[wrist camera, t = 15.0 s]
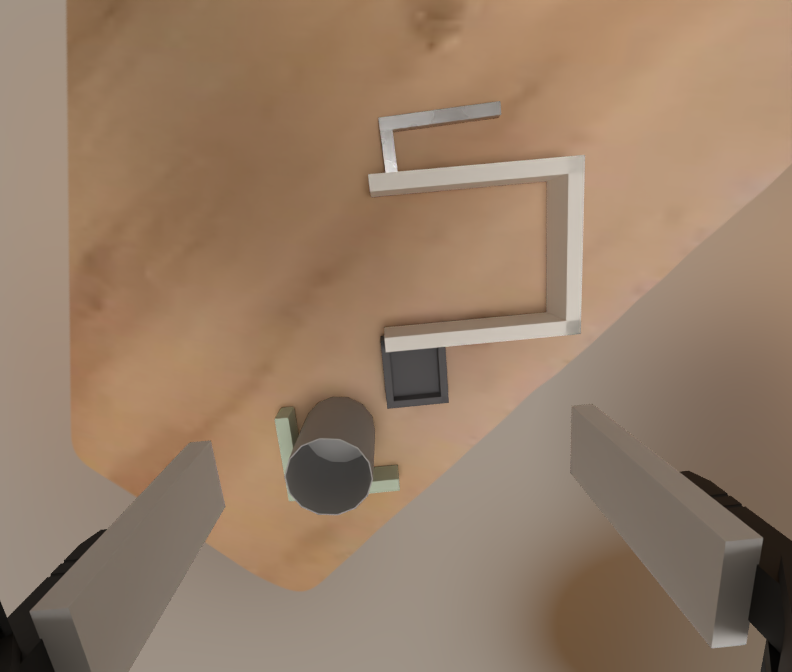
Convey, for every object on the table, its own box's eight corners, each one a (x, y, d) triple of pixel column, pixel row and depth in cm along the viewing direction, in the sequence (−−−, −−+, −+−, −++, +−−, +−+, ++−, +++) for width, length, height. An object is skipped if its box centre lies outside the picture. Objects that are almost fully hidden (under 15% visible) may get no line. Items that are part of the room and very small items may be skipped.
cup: (336, 382, 46) (323, 421, 36) (388, 425, 48) (390, 472, 38) (290, 432, 47) (267, 482, 38) (343, 472, 49) (333, 530, 39)
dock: (294, 485, 49) (289, 501, 46) (281, 407, 47) (274, 419, 44) (398, 475, 49) (399, 490, 46) (391, 397, 47) (391, 407, 44)
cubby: (385, 340, 45) (385, 352, 40) (369, 182, 41) (368, 174, 36) (559, 323, 45) (580, 333, 40) (561, 164, 41) (584, 154, 36)
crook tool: (385, 176, 41) (385, 174, 40) (378, 121, 40) (378, 117, 38) (500, 160, 41) (503, 158, 40) (496, 105, 40) (500, 101, 39)
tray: (387, 401, 47) (387, 408, 45) (380, 336, 45) (380, 340, 43) (445, 395, 47) (448, 402, 45) (441, 330, 45) (444, 334, 43)
